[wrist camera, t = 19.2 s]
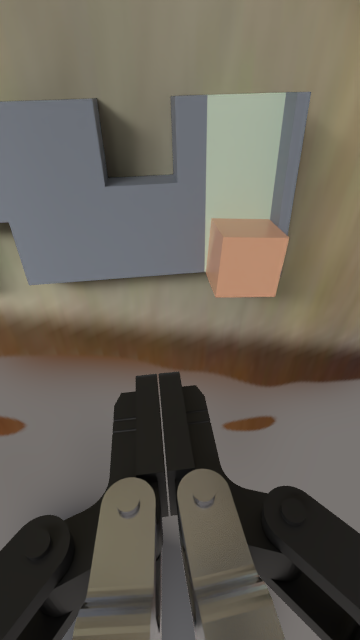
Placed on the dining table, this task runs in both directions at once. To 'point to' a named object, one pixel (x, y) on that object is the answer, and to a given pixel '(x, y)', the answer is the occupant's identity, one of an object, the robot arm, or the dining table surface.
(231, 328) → the dining table surface
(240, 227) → the block
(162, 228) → the board
